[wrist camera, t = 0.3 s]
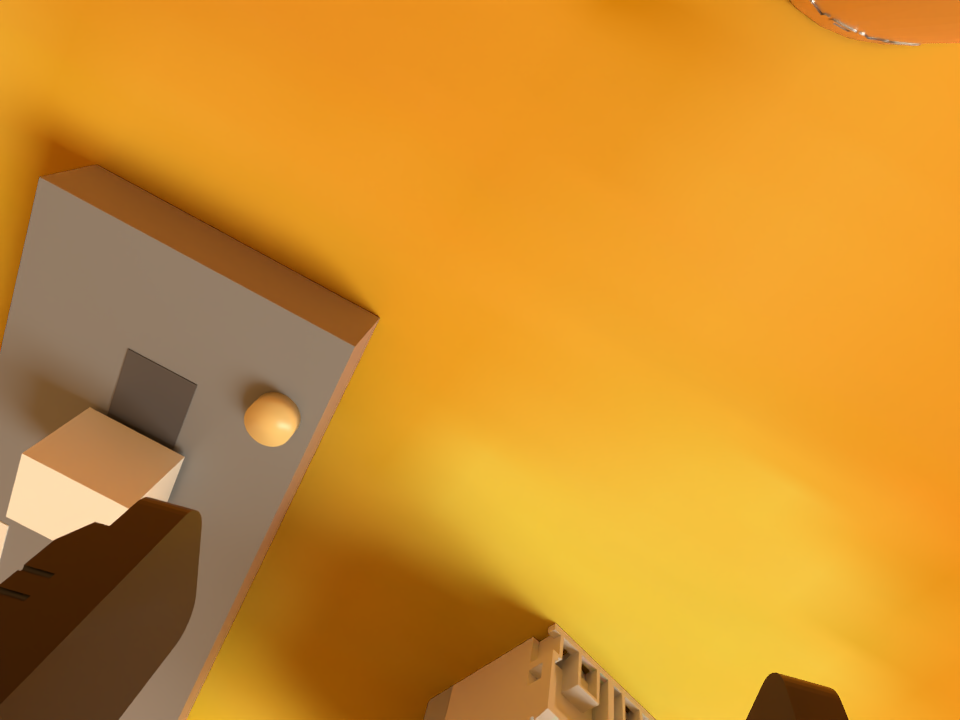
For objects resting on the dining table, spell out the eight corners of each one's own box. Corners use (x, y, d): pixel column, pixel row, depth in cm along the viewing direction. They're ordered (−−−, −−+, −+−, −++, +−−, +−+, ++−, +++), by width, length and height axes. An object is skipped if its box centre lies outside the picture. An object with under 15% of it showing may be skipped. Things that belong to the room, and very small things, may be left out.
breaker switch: (89, 407, 28) (21, 453, 24) (184, 456, 28) (129, 509, 25) (72, 465, 29) (5, 516, 26) (163, 512, 29) (108, 569, 26)
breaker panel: (96, 164, 27) (22, 180, 24) (379, 317, 28) (347, 355, 24) (-20, 614, 38) (-83, 670, 35) (186, 718, 39) (144, 784, 35)
